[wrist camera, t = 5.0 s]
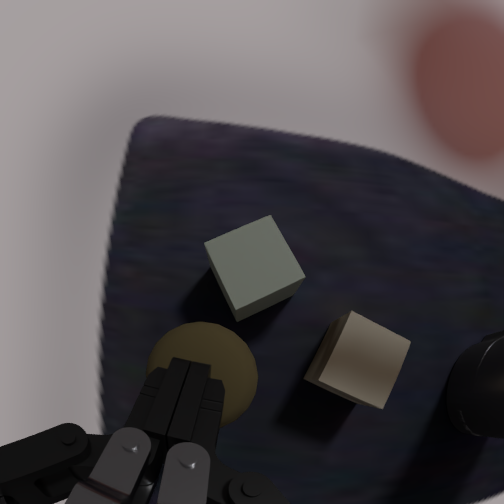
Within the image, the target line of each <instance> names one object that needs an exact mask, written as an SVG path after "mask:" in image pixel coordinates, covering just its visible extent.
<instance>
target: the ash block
mask: <svg viewBox="0 0 504 504" xmlns="http://www.w3.org/2000/svg"><path fill="white" fill-rule="evenodd" d="M410 343H411V341H409V340H407V339H405V338H403V337H401V336H399V335H397V334H395V333H393V332H392V331H390V330H388V329H386V328H384V327H382V326H380V325H378V324H376V323H374V322H372V321H370V320H368V319H366V318H365V317H363V316H361V315H359V314H357V313H355V312H353V311H350V312H349V313H347V314H345V315H344V316H342V317H340V318H339V319H337V320H335V321H333V322H332V323H331V324H330V326H329V328H328V330H327V333H326V335H325V337H324V339H323V341H322V343H321V345H320V347H319V349H318V351H317V353H316V355H315V357H314V359H313V361H312V363H311V365H310V366H309V368H308V370H307V372H306V374H305V376H304V378H303V379H305V380H307V381H309V382H311V383H313V384H315V385H317V386H319V387H321V388H324V389H326V390H328V391H330V392H332V393H334V394H337V395H339V396H341V397H343V398H345V399H348V400H350V401H352V402H354V403H357V404H361V405H366V406H370V407H375V408H380V409H383V407H384V405H385V403H386V401H387V399H388V396H389V394H390V392H391V390H392V388H393V385H394V383H395V381H396V378H397V376H398V374H399V371H400V369H401V366H402V364H403V361H404V359H405V356H406V353H407V351H408V348H409V346H410Z"/></svg>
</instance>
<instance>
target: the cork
mask: <svg viewBox="0 0 504 504" xmlns="http://www.w3.org/2000/svg"><path fill="white" fill-rule="evenodd" d="M173 357H176V358H181V359H185V360H190V361H195V362H200V363H205V364H210V365H211V377H210V378H213V379H218V380H222V382H223V385H224V388H225V398H224V405H223V413H222V418H221V423H220V428H221V427H223V426H225V425H227V424H229V423H231V422H233V421H235V420H237V419H238V418H239V417H240V416H241V415H242V414H243V413H244V412H245V411H246V410H247V409H248V407H249V405H250V404H251V402H252V400H253V398H254V396H255V394H256V388H257V381H258V373H257V368H256V363H255V359H254V357H253V355H252V353H251V351H250V350H249V348H248V346H247V344H246V343H245V342H244V341H243V340H242V339H241V338H240V337H239V336H237V335H236V334H235V333H234V332H233V331H231V330H229V329H227V328H225V327H223V326H221V325H219V324H213V323H207V322H194V323H187V324H183V325H181V326H179V327H177V328H175V329H173V330H170V331H168V332H167V333H166V334H165V335H164V336H163V337H162V338H161V339H160V340H159V341H158V342H157V343H156V344H155V346H154V348H153V350H152V352H151V354H150V356H149V358H148V364H147V370H146V378H147V377H148V374H150V373H151V372H152V371H153V370H154V369H156V368H157V367H162V368H166V369H168V366H169V364H170V362H171V359H172V358H173Z"/></svg>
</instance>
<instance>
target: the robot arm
mask: <svg viewBox="0 0 504 504" xmlns="http://www.w3.org/2000/svg"><path fill="white" fill-rule="evenodd" d="M210 377H211V365H210V364H205V363H200V362H195V361H190V360H185V359H181V358H176V357H173V358H172V359H171V362H170V364H169V366H168V369H166V368H162V367H157V368H156V369H154V370H153V371H152V372H151V373H150V374H148V377H147V379H146V381H145V383H144V386H143V387H142V390H141V392H140V395H139V396H138V398H137V400H136V403H135V405H134V407H133V409H132V411H131V414H130V416H129V418H128V420H127V423H126V424H125V426H124V427H123V428H122V429H119V430H117V431H116V432H115V433H114V434H111V435H95V434H86V432H85V431H84V430H83V429H82V428H81V427H80V426H78V425H76V424H73V423H64V424H61V425H58V426H56V427H53V428H51V429H48V430H45V431H43V432H40V433H37V434H35V435H32V436H29V437H27V438H24V439H21V440H18V441H16V442H13V443H10V444H7V445H4V446H1V447H0V504H54V503H57V502H59V501H61V500H64V499H67V498H68V499H67V501H66V502H65V504H149V501H150V499H151V497H152V494H153V492H154V489H155V487H156V484H157V482H158V479H159V472H160V469H161V466H162V463H164V464H165V466H164V471H163V476H162V481H161V486H160V491H159V496H158V501H157V504H290V503H289V501H288V500H287V499H286V498H285V497H284V496H283V495H282V493H281V492H280V491H279V490H278V489H277V488H276V486H275V485H274V484H273V483H272V482H271V481H270V480H269V479H268V478H267V477H266V476H264V475H262V474H260V473H256V472H244V473H240V472H238V471H235V470H233V469H231V468H229V467H227V466H225V465H224V464H223V463H221V462H220V461H219V459H218V458H217V456H216V454H215V449H216V443H217V438H218V433H219V428H220V423H221V418H222V413H223V405H224V398H225V388H224V385H223V382H222V380H218V379H213V378H210ZM446 403H447V410H448V414H449V417H450V420H451V422H452V424H453V425H454V427H455V428H456V429H458V430H459V431H460V432H463V433H465V434H471V435H475V436H486V437H493V438H502V439H504V330H503V331H500V332H496V333H493V334H489V335H486V336H485V337H484V339H483V341H482V342H481V343H478V344H475V345H472V346H471V347H469V348H468V349H466V350H465V352H464V353H463V354H462V355H461V356H460V357H459V359H458V360H457V362H456V363H455V365H454V368H453V370H452V372H451V375H450V378H449V382H448V387H447V400H446Z"/></svg>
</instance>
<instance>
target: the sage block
mask: <svg viewBox="0 0 504 504" xmlns="http://www.w3.org/2000/svg"><path fill="white" fill-rule="evenodd" d="M204 245H205V249H206V252H207V256H208V260H209V263H210V267H211V269H212V271H213V273H214V276H215V278H216V280H217V282H218V284H219V286H220V288H221V290H222V293H223V295H224V297H225V299H226V301H227V303H228V305H229V307H230V309H231V311H232V313H233V315H234V317H235V320H236V322H238V321H241V320H243V319H245V318H247V317H249V316H251V315H253V314H256V313H258V312H260V311H262V310H264V309H266V308H268V307H270V306H272V305H274V304H276V303H278V302H280V301H282V300H285V299H287V298H289V297H291V296H293V295H294V294H295V292H296V291H297V289H298V288H299V286H300V284H301V283H302V281H303V280H304V278H305V275H304V273H303V271H302V269H301V268H300V266H299V264H298V262H297V261H296V259H295V257H294V255H293V253H292V252H291V250H290V248H289V246H288V245H287V243H286V241H285V239H284V238H283V236H282V234H281V232H280V231H279V229H278V227H277V225H276V224H275V222H274V220H273V219H272V217H271V215H269V216H266V217H264V218H262V219H259V220H257V221H255V222H252V223H250V224H247V225H245V226H243V227H240V228H238V229H236V230H233V231H231V232H229V233H226V234H224V235H221V236H219V237H217V238H215V239H212V240H210V241H208V242H205V243H204Z"/></svg>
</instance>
